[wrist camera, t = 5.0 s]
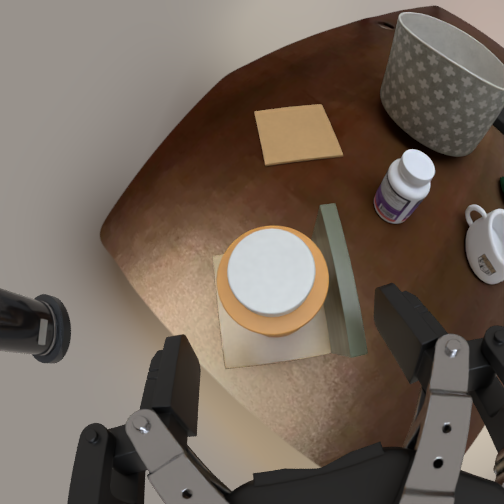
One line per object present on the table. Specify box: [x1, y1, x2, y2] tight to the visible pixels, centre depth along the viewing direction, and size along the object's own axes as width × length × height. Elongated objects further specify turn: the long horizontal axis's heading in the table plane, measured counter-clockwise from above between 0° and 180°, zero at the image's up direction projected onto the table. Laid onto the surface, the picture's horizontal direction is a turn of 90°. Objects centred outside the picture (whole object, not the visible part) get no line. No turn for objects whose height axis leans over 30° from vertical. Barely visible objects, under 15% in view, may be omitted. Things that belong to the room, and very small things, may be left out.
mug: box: [465, 205, 504, 284], centre depth 26 cm, size 12×10×6 cm
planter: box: [380, 12, 504, 157], centre depth 28 cm, size 19×19×18 cm
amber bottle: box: [217, 226, 329, 337], centre depth 16 cm, size 5×5×10 cm
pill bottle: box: [374, 149, 435, 224], centre depth 28 cm, size 5×5×10 cm
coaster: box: [254, 104, 343, 166], centre depth 37 cm, size 11×11×1 cm
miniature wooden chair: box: [213, 203, 367, 369], centre depth 22 cm, size 9×9×16 cm
